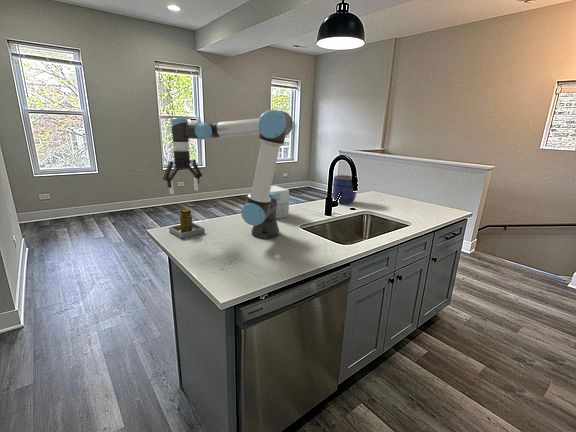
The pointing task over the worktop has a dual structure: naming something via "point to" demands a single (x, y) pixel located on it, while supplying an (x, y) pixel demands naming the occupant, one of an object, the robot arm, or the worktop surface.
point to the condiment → (185, 220)
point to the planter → (343, 189)
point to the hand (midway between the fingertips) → (184, 192)
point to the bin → (196, 231)
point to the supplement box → (281, 201)
